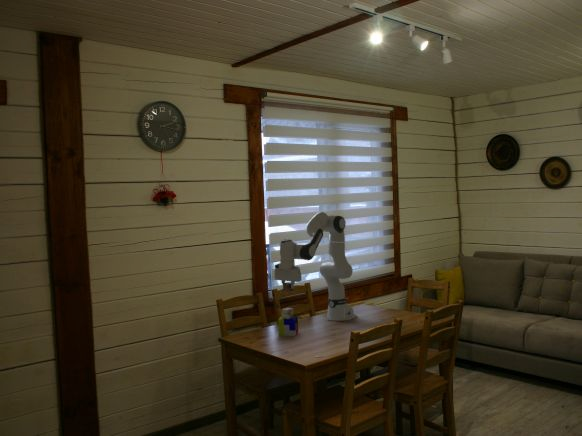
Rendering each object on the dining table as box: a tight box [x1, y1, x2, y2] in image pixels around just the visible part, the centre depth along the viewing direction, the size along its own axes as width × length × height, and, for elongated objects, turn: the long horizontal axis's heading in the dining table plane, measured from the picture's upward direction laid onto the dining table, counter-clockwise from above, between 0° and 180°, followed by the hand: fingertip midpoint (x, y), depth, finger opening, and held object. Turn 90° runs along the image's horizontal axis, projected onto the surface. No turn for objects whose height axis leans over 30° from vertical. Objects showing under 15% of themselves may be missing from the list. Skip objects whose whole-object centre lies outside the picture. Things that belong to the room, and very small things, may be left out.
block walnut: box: [282, 281, 294, 293], centre depth 319 cm, size 4×4×5 cm
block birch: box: [281, 307, 294, 319], centre depth 319 cm, size 5×5×6 cm
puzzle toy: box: [277, 315, 299, 337], centre depth 319 cm, size 10×10×10 cm
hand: (288, 288), depth 319 cm, fingers closed on block walnut, 4 cm apart
